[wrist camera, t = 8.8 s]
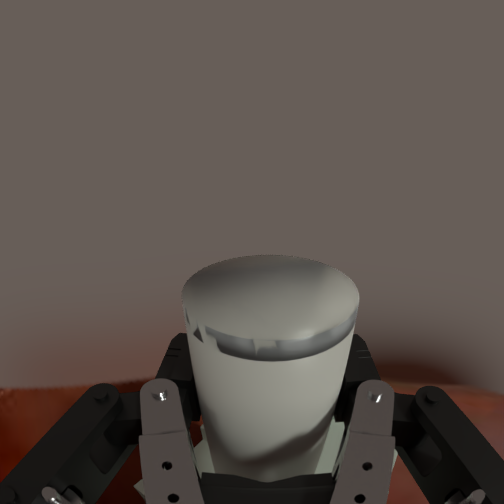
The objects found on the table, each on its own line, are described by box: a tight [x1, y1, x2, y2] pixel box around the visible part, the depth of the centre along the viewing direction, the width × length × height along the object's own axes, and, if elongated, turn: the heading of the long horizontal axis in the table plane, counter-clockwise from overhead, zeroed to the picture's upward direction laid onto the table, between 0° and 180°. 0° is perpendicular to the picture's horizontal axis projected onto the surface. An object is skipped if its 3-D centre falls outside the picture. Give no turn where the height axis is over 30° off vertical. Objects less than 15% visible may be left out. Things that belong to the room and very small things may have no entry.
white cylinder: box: [182, 255, 359, 482], centre depth 10 cm, size 5×5×10 cm
